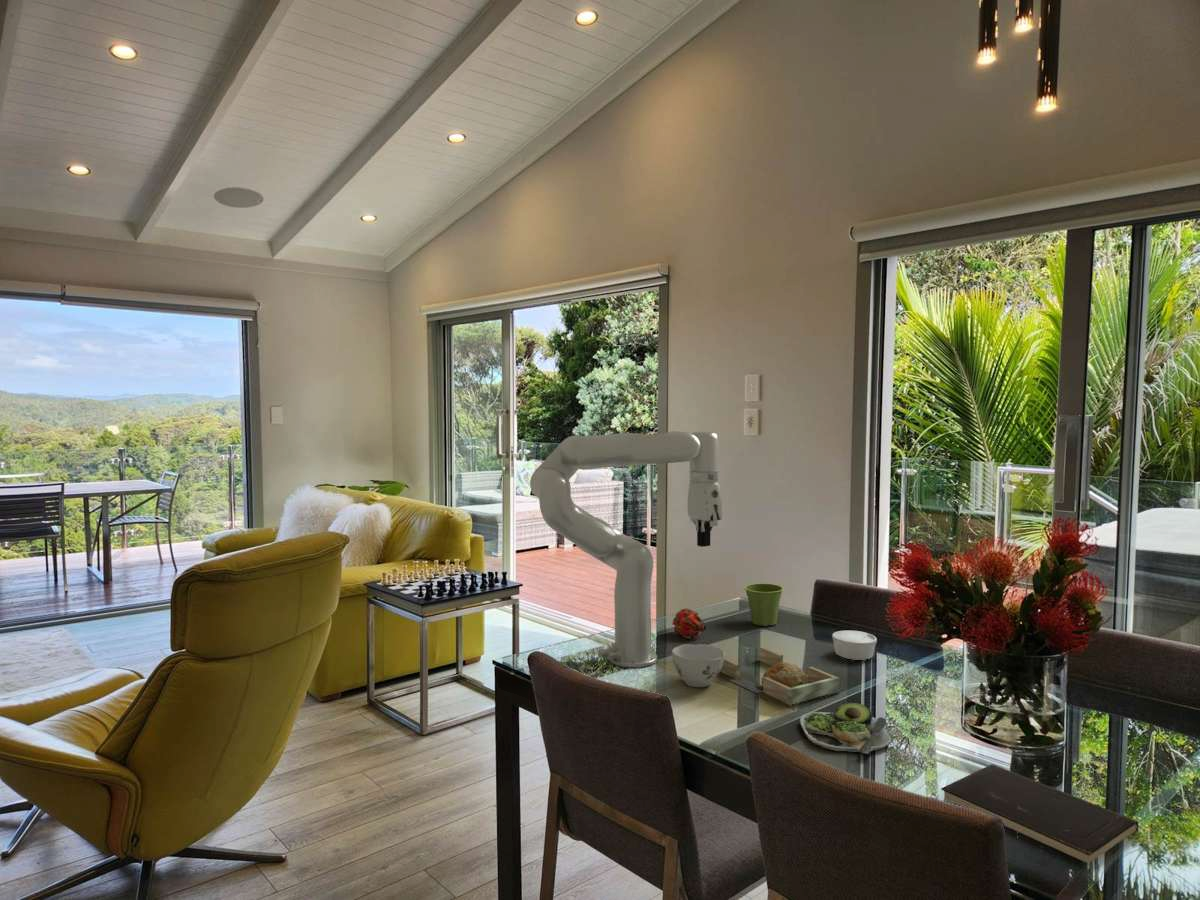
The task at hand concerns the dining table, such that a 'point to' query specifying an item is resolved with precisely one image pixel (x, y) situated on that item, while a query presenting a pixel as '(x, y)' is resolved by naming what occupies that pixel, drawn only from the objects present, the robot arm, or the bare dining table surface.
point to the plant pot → (764, 602)
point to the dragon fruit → (688, 623)
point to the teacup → (698, 663)
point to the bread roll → (786, 674)
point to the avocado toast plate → (849, 727)
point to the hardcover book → (1042, 812)
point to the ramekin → (854, 644)
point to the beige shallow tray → (817, 687)
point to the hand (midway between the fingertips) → (703, 545)
